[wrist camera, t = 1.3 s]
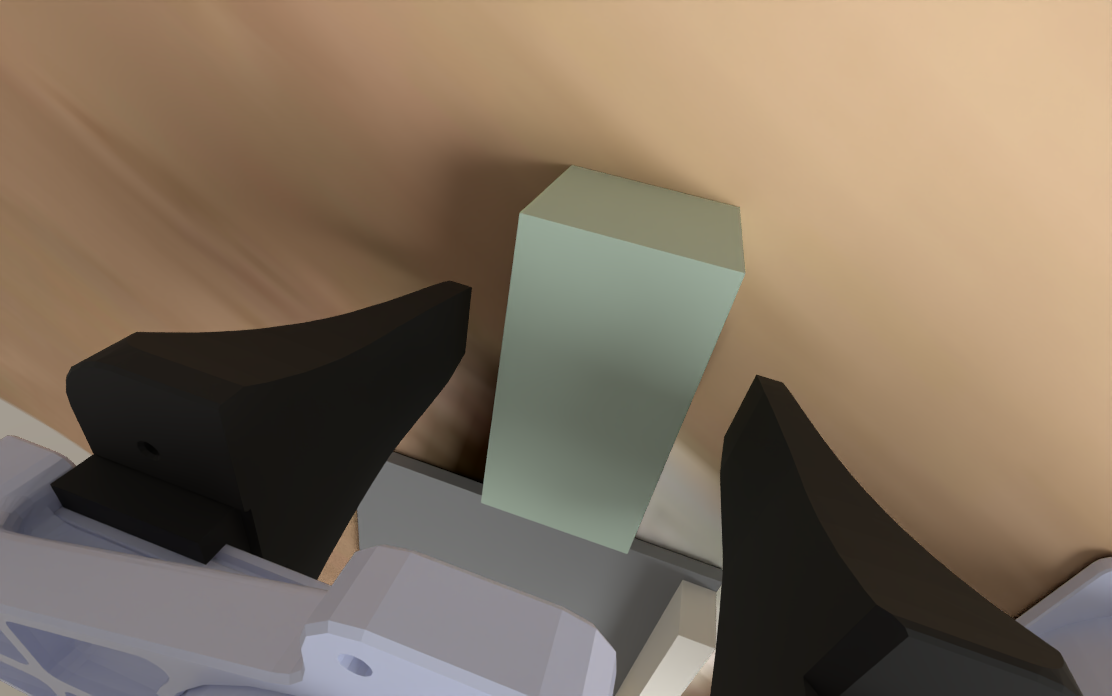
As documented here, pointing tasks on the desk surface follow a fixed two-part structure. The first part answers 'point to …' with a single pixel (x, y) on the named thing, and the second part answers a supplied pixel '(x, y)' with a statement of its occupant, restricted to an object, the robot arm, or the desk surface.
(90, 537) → the robot arm
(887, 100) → the desk surface
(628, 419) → the sage block
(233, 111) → the desk surface
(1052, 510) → the desk surface
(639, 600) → the arena
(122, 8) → the desk surface
